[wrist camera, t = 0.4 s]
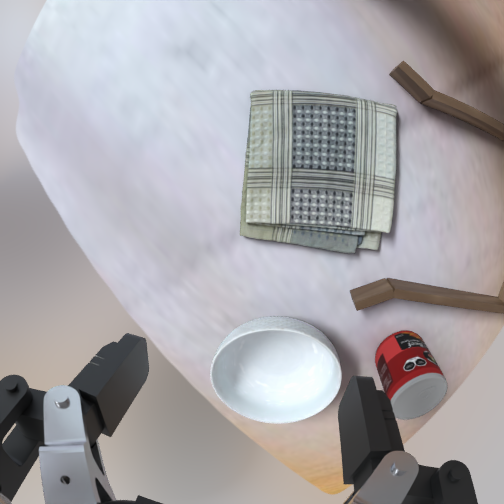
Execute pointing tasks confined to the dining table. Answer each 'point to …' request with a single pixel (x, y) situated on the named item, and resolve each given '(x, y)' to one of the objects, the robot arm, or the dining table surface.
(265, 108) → the dish towel
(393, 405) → the canned food
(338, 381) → the cereal bowl
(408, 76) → the towel holder
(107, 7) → the dining table surface
